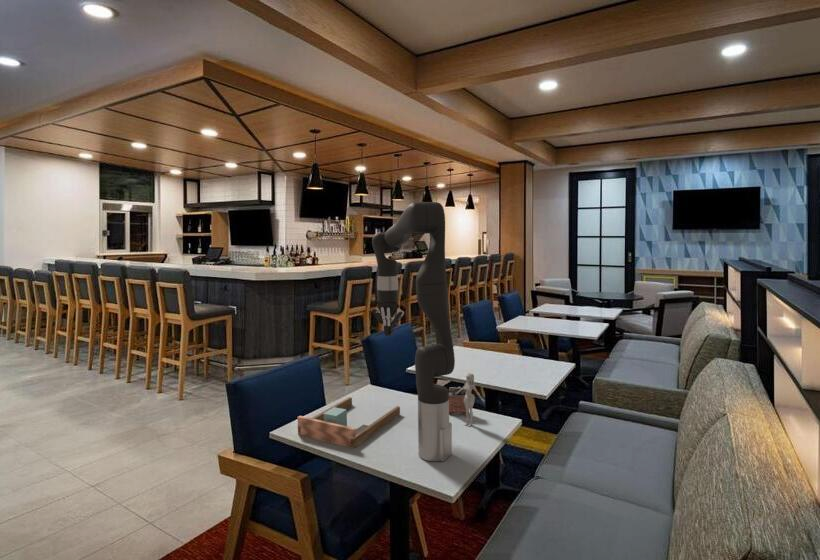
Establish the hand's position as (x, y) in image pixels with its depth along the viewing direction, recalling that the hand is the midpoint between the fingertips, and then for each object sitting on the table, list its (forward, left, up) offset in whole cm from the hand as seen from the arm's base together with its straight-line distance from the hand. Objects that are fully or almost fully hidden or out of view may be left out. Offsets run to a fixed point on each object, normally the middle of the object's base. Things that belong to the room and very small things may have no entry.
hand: (388, 335), depth 168 cm
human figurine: (-30, -3, -29) cm, 42 cm away
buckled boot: (-23, -10, -29) cm, 38 cm away
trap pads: (+7, +18, -29) cm, 35 cm away
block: (+7, +24, -29) cm, 38 cm away
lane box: (+7, +15, -29) cm, 33 cm away
